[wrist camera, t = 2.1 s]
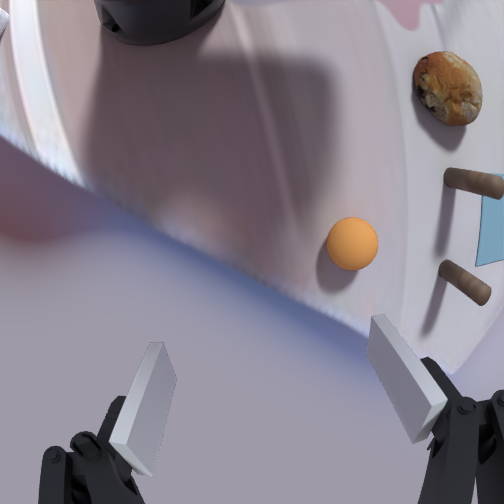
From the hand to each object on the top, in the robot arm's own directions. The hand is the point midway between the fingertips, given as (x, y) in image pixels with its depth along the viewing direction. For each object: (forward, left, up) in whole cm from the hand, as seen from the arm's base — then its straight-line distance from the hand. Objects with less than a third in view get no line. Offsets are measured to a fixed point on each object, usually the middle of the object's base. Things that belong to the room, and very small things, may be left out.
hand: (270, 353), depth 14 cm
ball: (0, +10, -15) cm, 18 cm away
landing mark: (0, +40, -18) cm, 44 cm away
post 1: (-6, +26, -18) cm, 32 cm away
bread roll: (-18, +26, -18) cm, 36 cm away
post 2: (+6, +26, -18) cm, 32 cm away
